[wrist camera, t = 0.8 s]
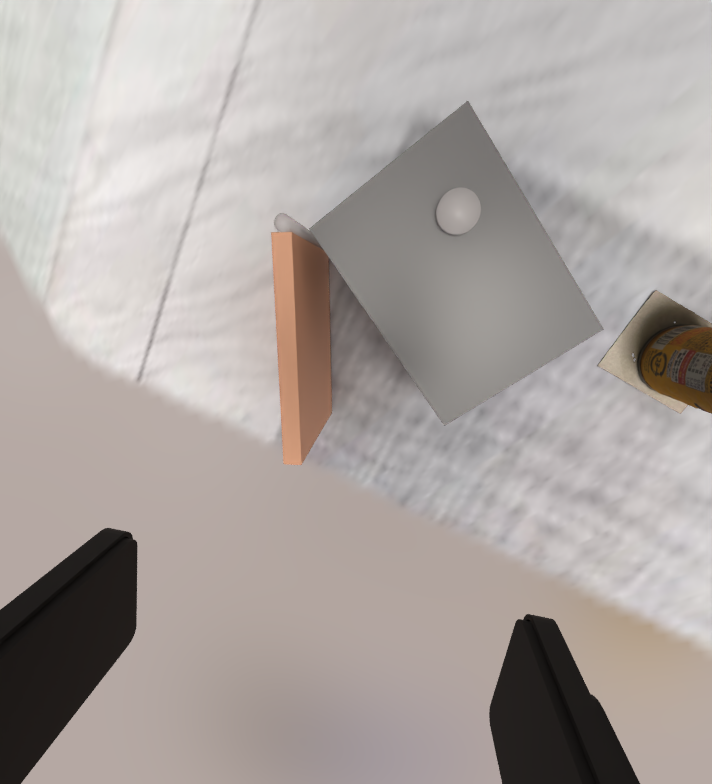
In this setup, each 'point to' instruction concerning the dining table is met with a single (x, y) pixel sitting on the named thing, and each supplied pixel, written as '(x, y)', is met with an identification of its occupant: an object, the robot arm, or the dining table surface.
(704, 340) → the condiment
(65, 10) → the dining table surface
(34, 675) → the robot arm
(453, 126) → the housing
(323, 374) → the door
